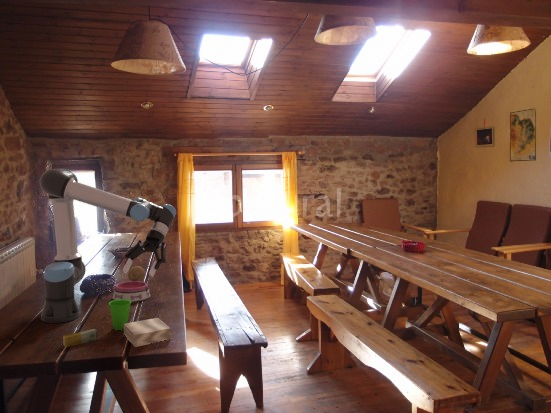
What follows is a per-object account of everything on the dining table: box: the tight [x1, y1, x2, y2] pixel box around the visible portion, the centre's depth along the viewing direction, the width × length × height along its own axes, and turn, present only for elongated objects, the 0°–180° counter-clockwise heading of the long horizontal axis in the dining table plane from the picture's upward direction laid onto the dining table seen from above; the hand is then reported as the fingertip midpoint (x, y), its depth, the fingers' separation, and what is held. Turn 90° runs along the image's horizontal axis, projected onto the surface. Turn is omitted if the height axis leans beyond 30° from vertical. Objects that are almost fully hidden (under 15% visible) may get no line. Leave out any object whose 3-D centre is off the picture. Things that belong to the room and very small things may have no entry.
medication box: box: [62, 328, 99, 348], centre depth 177 cm, size 12×3×4 cm, turn 131°
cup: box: [107, 299, 132, 331], centre depth 191 cm, size 9×9×11 cm
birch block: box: [123, 317, 172, 348], centre depth 183 cm, size 14×14×5 cm
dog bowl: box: [111, 280, 151, 303], centre depth 235 cm, size 18×19×7 cm
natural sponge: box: [127, 265, 146, 282], centre depth 260 cm, size 9×9×10 cm
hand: (137, 273), depth 200 cm, fingers open, 13 cm apart
